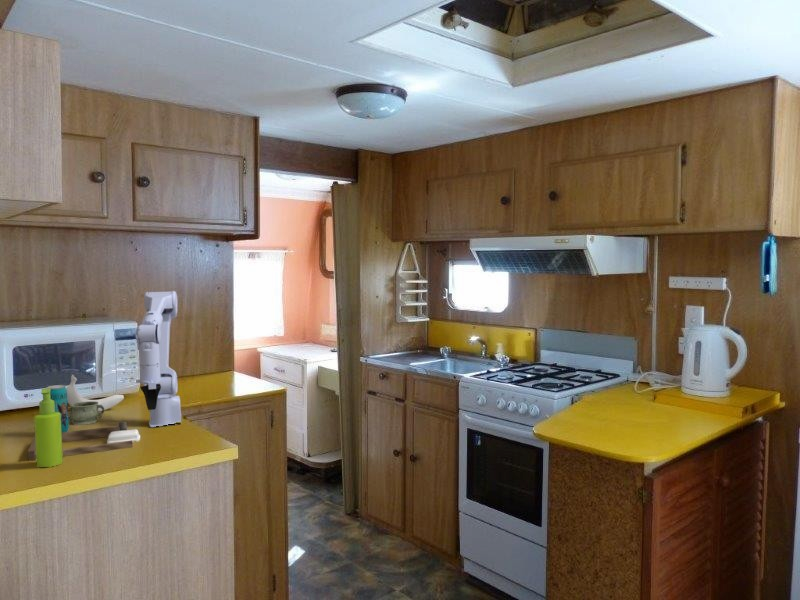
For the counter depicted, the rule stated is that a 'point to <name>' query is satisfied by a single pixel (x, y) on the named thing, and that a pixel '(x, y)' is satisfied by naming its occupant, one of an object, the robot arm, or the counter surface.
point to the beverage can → (60, 404)
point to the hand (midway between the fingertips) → (151, 409)
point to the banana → (76, 398)
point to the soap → (123, 436)
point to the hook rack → (87, 435)
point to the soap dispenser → (48, 433)
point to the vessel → (85, 412)
